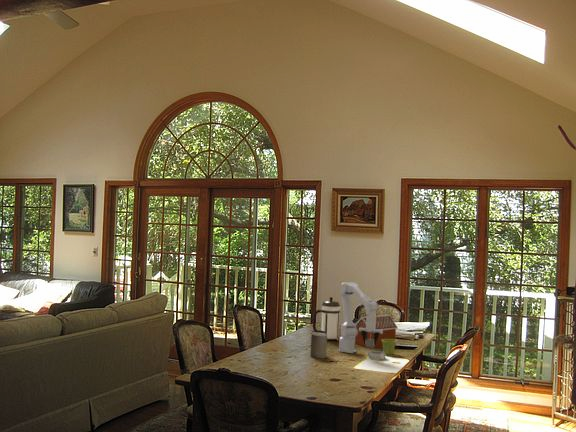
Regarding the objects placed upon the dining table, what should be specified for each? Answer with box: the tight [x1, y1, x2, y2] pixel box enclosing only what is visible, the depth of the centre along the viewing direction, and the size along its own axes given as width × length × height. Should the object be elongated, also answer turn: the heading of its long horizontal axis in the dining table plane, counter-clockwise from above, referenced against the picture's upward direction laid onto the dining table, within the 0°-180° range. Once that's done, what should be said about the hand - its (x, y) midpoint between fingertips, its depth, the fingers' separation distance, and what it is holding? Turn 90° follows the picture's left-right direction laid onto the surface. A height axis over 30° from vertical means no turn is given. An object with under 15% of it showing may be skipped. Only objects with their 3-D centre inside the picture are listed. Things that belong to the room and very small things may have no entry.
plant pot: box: [382, 339, 397, 356], centre depth 381 cm, size 9×9×9 cm
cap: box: [365, 339, 374, 349], centre depth 365 cm, size 6×5×4 cm
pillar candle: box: [310, 332, 328, 359], centre depth 367 cm, size 10×10×15 cm
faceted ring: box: [367, 350, 386, 361], centre depth 368 cm, size 10×10×4 cm
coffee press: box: [312, 296, 342, 342], centre depth 421 cm, size 17×16×30 cm
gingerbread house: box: [354, 314, 399, 348], centre depth 411 cm, size 18×26×20 cm
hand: (370, 344), depth 365 cm, fingers closed on cap, 5 cm apart
